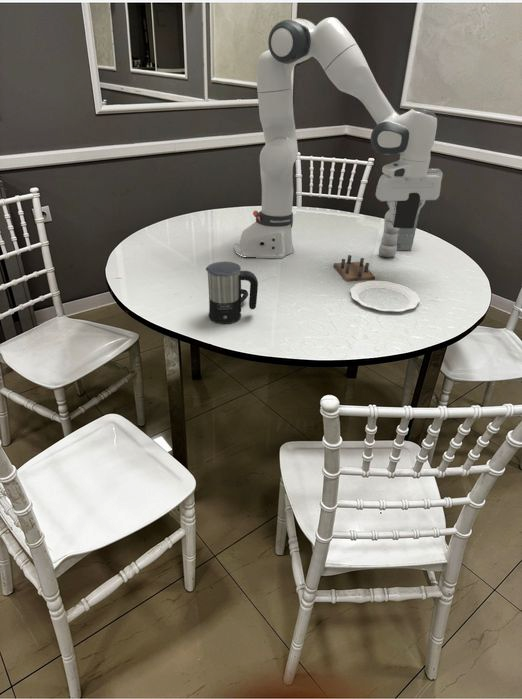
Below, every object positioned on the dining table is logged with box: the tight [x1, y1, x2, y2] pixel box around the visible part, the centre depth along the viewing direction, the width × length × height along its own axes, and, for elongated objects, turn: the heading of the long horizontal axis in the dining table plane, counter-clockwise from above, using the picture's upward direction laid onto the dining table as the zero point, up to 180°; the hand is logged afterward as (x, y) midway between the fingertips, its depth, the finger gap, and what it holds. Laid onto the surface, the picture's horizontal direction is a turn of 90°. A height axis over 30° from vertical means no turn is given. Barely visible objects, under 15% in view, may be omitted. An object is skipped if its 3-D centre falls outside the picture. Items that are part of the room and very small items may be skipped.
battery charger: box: [392, 193, 420, 229], centre depth 149 cm, size 7×4×11 cm, turn 87°
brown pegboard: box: [333, 254, 376, 283], centre depth 160 cm, size 10×13×4 cm
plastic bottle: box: [378, 201, 400, 258], centre depth 170 cm, size 6×7×20 cm
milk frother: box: [205, 261, 259, 325], centre depth 132 cm, size 14×16×15 cm
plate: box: [349, 280, 421, 313], centre depth 145 cm, size 21×21×2 cm
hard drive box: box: [397, 213, 420, 252], centre depth 182 cm, size 16×8×20 cm, turn 179°
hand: (403, 214), depth 150 cm, fingers closed on battery charger, 7 cm apart
